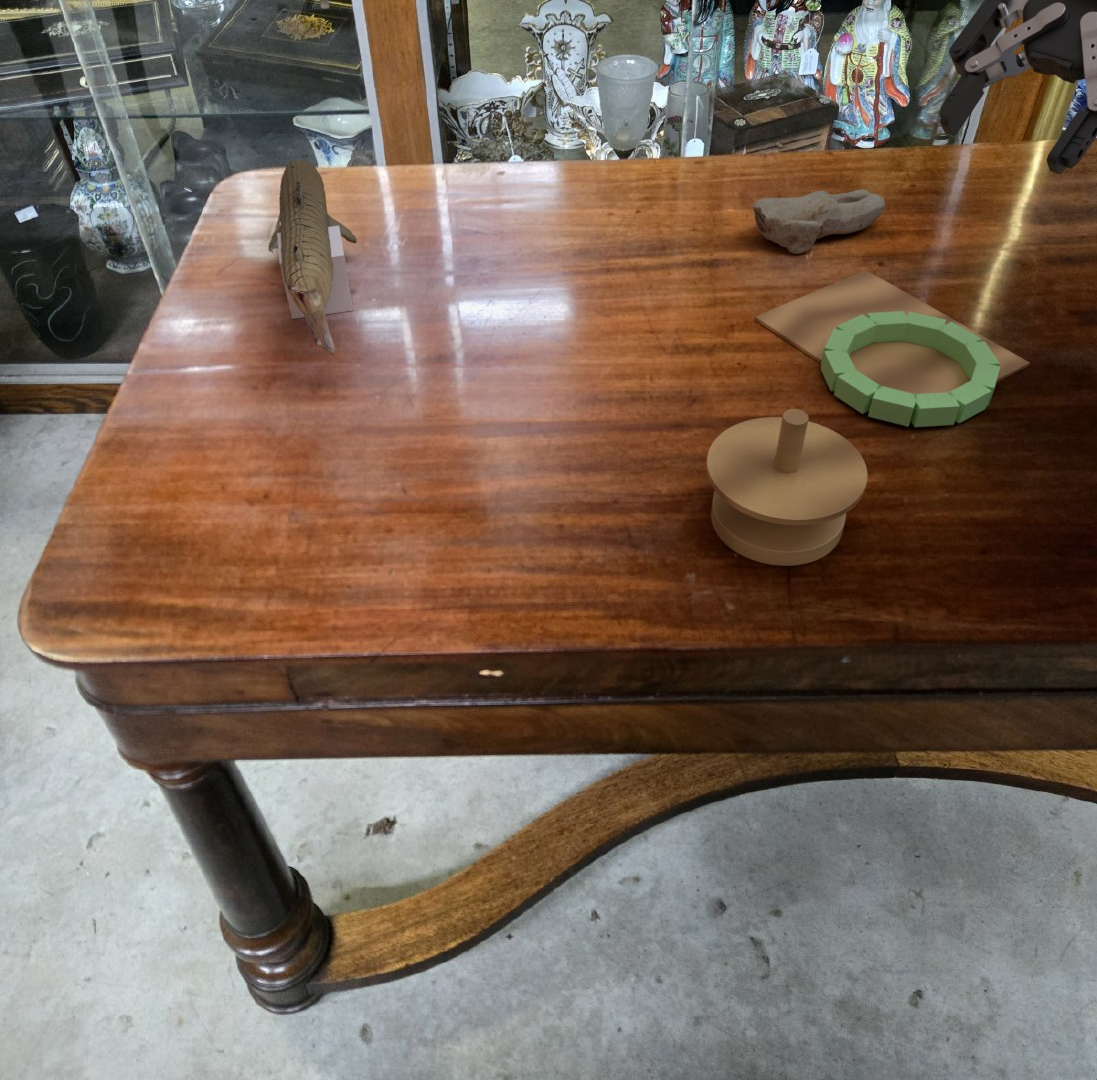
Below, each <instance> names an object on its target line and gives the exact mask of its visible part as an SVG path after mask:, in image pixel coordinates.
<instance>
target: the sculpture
mask: <svg viewBox="0 0 1097 1080" xmlns="http://www.w3.org/2000/svg"><path fill="white" fill-rule="evenodd" d="M885 207H886V203H885V199H884V198H883V197H882V196H881V195H880V194H877V193H872V192H871V191H870V190H867V189H863V188H860V189H857V190H854V191H848V192H841V193H835V194H834V193H833V194H832V193H829V192H828V191H826V190H824V189H823V190H822V189H821V190H819V189H818V190H815V191H812V192H810V193H807V194H805V195H801V196H797V197H763V198H760V199H758V200H756V202H754V204H753V206H752V210H753V212H754V220H755V223H756V227H757V229H758V231H759V233H760V234H761V235H762V236H763V237H764V239H766V240H769V241H771V242H772V243H774V244H778V245H779V246H780V247H783V248H786V249H787V251H788V252H789V253H791V254H794V255H799V254H803V253H806V252H809V251H810V250H811V249H812V248H813V246H814V244H815V241H816V240H819V239H821V238H824V237H827V236H830V235H847V234H848V235H849V234H852V233H855V232H858V231H862V230H864V229H866V228H868V227H869V226H871V224H872V223H874V222H875V221H877V220H878V219H879V218H880V217H881V215H882V214H883V212H884V211H885Z"/></svg>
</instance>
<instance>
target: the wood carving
mask: <svg viewBox="0 0 1097 1080" xmlns="http://www.w3.org/2000/svg"><path fill="white" fill-rule="evenodd" d="M278 199H279V201H278V202H279V214H278V216H277V221H276V225H275V229H274V232H273V234H272V236H271V238H270V241H269V243H268V251H269V252H271V254H274V253H273V252H274V249H278V260H279V267H280V272H281V277H282V280H283V285H284V289H285V294H286V298H287V303H288V306H289V311H290V316H291V317H290V318H291V320H294V319H301V318H305V321H306V323H307V326H308V328H309V330H310V332H311V334H312V336H313V339H312V340H313V341H312V343H313V345H314V346H315V347H316V348H317V349H319V348H321V350H323V351H324V352H325V353H326V354H328V355H330V356H334V355H335V354H336V346H335V343H334V341H333V336H332V334H331V332H330V329H329V324H328V321H327V316H326V315H332V314H339V313H346V312H354V306H353V299H352V293H351V286H350V282H349V281H350V279H349V275H348V270H347V263H346V258H345V252H344V246H343V241H342V238H344V239H345V241H347V242H349V243H352V244H357V237H356V235H354V234H353V233H352V231H351V229H349V228H348V227H346V226H345V225H344V224H343V223H341V222H340V221H338V220H337V219H335V218H333V217H332V216H331V215H329V213H328V207H327V194H326V191H325V184H324V180H323V177H322V176H321V174H320V173H319V171H318V169H317V168H316V166H315V165H314V164H312V163H311V162H309V161H307V160H306V159H293V160H290V161H289V162H288V163H287V165H286V166H285V169H284V171H283V174H282V177H281V179H280V191H279V197H278ZM311 325H312V326H311Z"/></svg>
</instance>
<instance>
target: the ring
mask: <svg viewBox="0 0 1097 1080" xmlns="http://www.w3.org/2000/svg"><path fill="white" fill-rule="evenodd" d="M945 323H946V319H941V318H936V317H932V316H927V315H923V314H918V313H914V312H909V313H908V315H907V317H906V315H905V313H904V311H896V312H879V313H868V314H867V317H866V316H865V315H860V316H858V317H856V318H854V319H851V320H849V321H847V322H845V323H843V324H840V325H838V326H837V328H836V329H833V331H832V333H831V335H830V337H829V339H828V341H827V343H826V345H825V347H824V351H823V356H822V361H821V364H820V371H821V373H822V376H823V378H824V380H825V382H826V384H827V386H828V389H829V391H830V392H834V393H833V396H835V397H836V398H838V399H839V400H840V401H842V402H844V403H845V404H847V405H848V406H849V407H851V408H852V409H854V410H856V411H857V412H858V413H860V414H862V415H864V414H866V413H868V414H867V417H868V418H872V419H876V420H879V421H884V422H888V423H891V424H896V425H900V426H904V427H909V426H910V424H911V423H910V421H911V422H912V423H913V424H912V425H913V427H914V428H925V427H940V426H941V427H942V426H954V425H955V422H956V423H958V424H961V423H962V422H965V421H967V420H968V419H970V418H971V417H974V416H975V415H977V414H979V413H982V412H983V411H985V410H986V408H987V407H989V405H990V402H991V400H992V397H993V393H994V391H995V388H996V384H997V383H996V381H997V378H998V374H999V371H1000V367H999V361H998V360H997V358H996V357H995V356H994V354H993V353H992V351H991V350H990V348H989V347H988V345H987V344H986V342H981V338H980V337H978V336H976V335H975V334H973V333H971V332H969V331H967V330H966V329H964V328H962V327H960V326H959V325H957V324H955V323H953V322H950V323H948V324H946V325H945ZM894 341H905V342H909V343H913V344H918V345H922V346H927V347H931V348H935V349H936V350H938V351H940V352H941V353H943V354H945V355H946V356H948V357H950V358H952V359H953V360H955V361H957V362H958V363H959V364H960V365H961V367H962V368H963V370H964V372H965V373H966V375H967V376H968V378H969V380H970V381H969V382H967V383H965V384H963V385H961V386H960V387H958V388H956V389H954V390H952V391H950V392H943V393H926V394H913V393H909V392H904V391H900V390H896V389H892V388H888V387H884V386H880V385H879V384H877V383H876V382H874V381H873V380H871V379H870V378H868V377H866V376H865V375H863V374H862V373H860V372H859V371H857V370H856V369H855V367H854V365H853V363H852V361H851V359H850V357H849V356H850V354H851V353H852V352H854V351H856V350H858V349H860V348H862V347H864V346H866V345H869V344H871V343H877V342H894Z"/></svg>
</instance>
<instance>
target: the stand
mask: <svg viewBox="0 0 1097 1080" xmlns="http://www.w3.org/2000/svg"><path fill="white" fill-rule="evenodd" d="M809 420H810V417H809V415H808V413H807V412H805V411H804V410H802V409H799V408H789V409H787V410H785V411H784V412H783V413H782V416H767V417H758V418H753V419H748V420H744V421H741V422H739V423H736V424H734V425H732V426H730V427H729V428H727V429H725V430H724V431H722V432H721V433H720V434H719V435H718V436H717V437H716V438H715V439H714V440H713V441H712V443H711V445H710V447H709V449H708V452H707V456H706V464H705V465H706V466H705V468H706V469H705V470H706V475H707V478H708V480H709V483H710V485H711V487H712V489H713V490H714V492H713V496H712V503H711V511H710V519H711V524H712V527H713V529H714V532H715V533H716V535H717V537H718V538H719V539H720V540H721V541H722V542H723V543H724V545H726V546H727V547H728V548H729V549H731V550H732V551H733V552H735V553H736V554H738V555H740V556H741V557H744V558H746V559H749V560H752V561H754V562H756V563H760V564H764V565H770V566H778V567H781V566H782V567H792V566H793V567H794V566H802V565H805V564H809V563H810V564H811V563H813V562H815V561H818V560H820V559H822V558H824V557H825V556H827V555H829V554H830V553H831V552H832V551H833V550H834V549H835V548H836V547H837V545H838V544H839V542H840V541H841V539H842V535H843V531H844V528H845V523H846V520H847V513H849V512H850V511H851V510H852V509H853V508H855V507H856V506H857V505H858V504H859V502H860V501H861V500H862V498H863V496H864V494H865V491H866V487H867V483H868V476H869V475H868V474H869V473H868V468H867V465H866V462H865V459H864V458H863V456H862V454H861V453H860V451H859V450H858V449H857V448H856V446H854V444H852V443H851V442H850V441H849V440H847V438H845V437H844V436H842V435H841V434H839V433H838V432H836V431H834V430H832V429H830V428H828V427H826V426H823V425H821V424H819V423H816V422H813V421H809Z"/></svg>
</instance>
